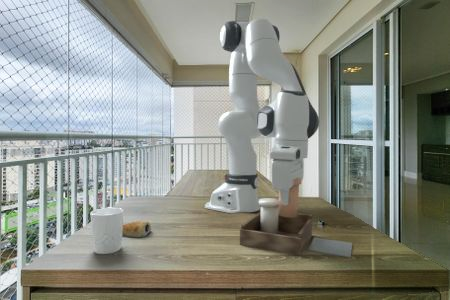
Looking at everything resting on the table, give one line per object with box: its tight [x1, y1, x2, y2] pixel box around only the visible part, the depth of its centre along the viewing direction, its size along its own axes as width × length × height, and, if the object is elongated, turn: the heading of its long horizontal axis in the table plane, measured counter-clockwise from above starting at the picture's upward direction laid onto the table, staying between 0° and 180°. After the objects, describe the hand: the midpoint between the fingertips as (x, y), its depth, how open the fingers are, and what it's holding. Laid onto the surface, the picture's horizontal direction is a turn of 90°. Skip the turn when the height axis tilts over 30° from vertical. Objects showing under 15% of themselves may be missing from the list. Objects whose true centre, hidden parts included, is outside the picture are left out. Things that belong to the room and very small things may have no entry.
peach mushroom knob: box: [278, 178, 303, 217], centre depth 81 cm, size 6×6×10 cm
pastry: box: [122, 221, 152, 238], centre depth 89 cm, size 9×7×4 cm
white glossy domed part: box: [258, 197, 279, 234], centre depth 87 cm, size 6×6×10 cm
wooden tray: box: [239, 208, 313, 256], centre depth 83 cm, size 16×16×7 cm
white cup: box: [90, 207, 124, 255], centre depth 77 cm, size 8×8×10 cm
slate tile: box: [307, 237, 354, 259], centre depth 78 cm, size 10×10×1 cm
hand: (288, 201), depth 81 cm, fingers closed on peach mushroom knob, 6 cm apart
